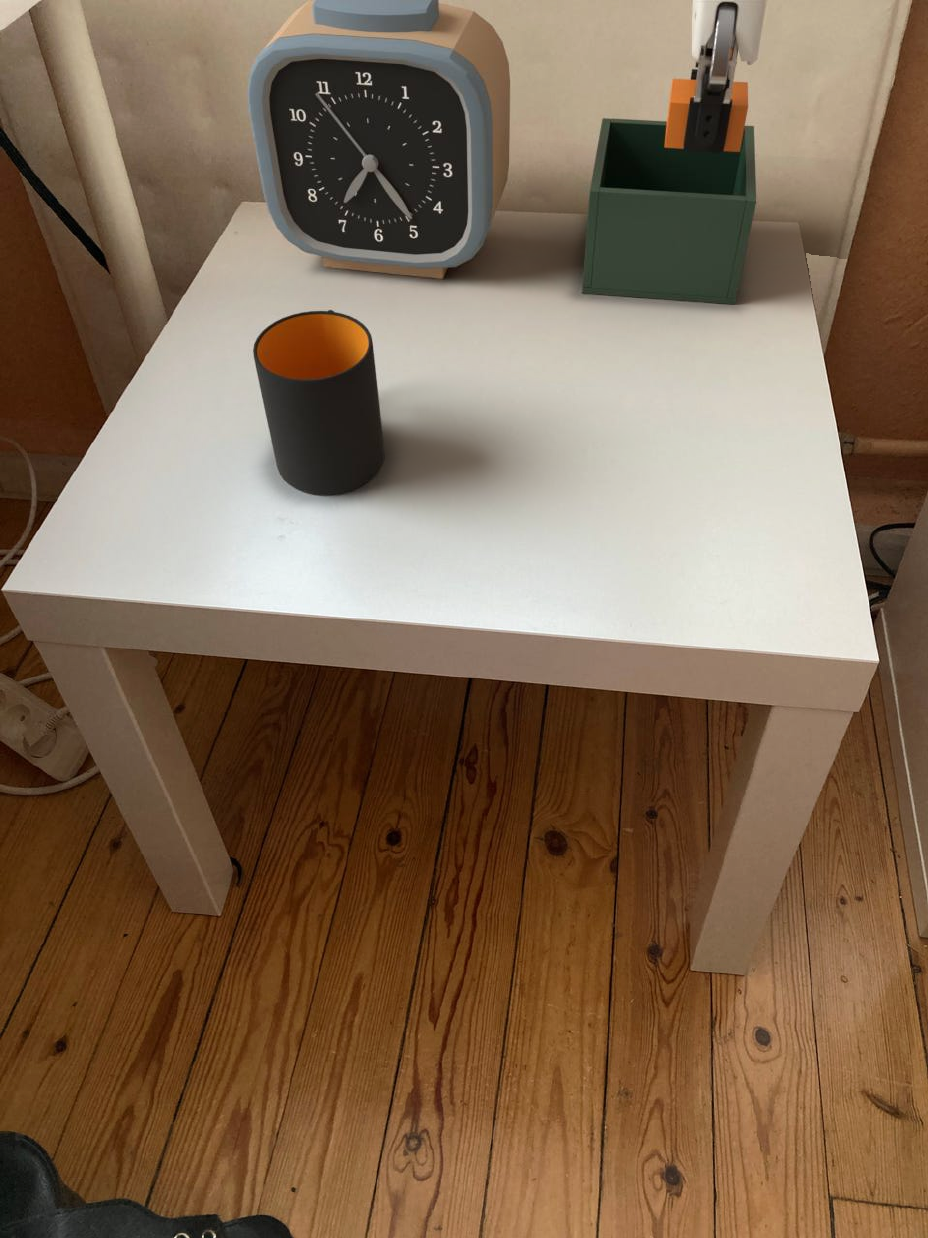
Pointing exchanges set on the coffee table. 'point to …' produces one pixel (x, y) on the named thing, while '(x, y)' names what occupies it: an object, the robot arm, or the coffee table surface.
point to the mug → (321, 400)
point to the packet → (680, 108)
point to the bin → (667, 216)
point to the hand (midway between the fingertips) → (704, 133)
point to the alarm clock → (383, 132)
